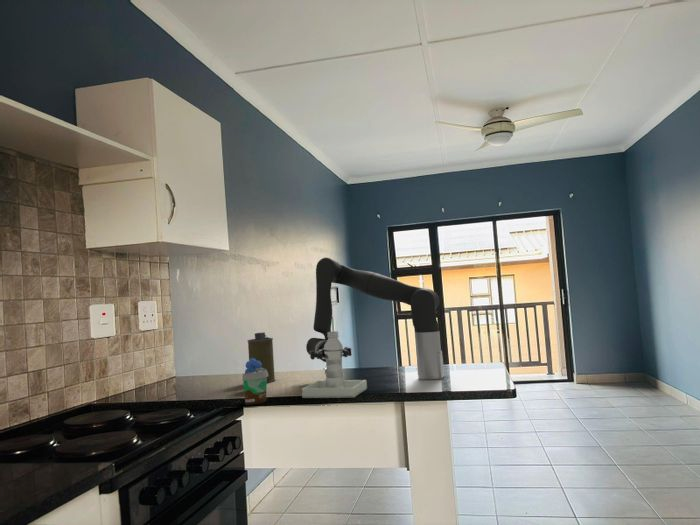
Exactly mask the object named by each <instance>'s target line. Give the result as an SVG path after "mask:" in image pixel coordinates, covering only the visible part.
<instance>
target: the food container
mask: <svg viewBox="0 0 700 525" xmlns="http://www.w3.org/2000/svg"><path fill="white" fill-rule="evenodd" d="M268 376H269V375H268V372H267V370H266V369H256V371H255V372H251V373H248V374H245V373H242V382H243V383H242V384H243V391H244V404H245V406H247V405H256V404H261V403H265V402H267V384H268V383H267V377H268Z"/></svg>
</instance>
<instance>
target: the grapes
mask: <svg viewBox="0 0 700 525" xmlns="http://www.w3.org/2000/svg"><path fill="white" fill-rule="evenodd" d="M261 366H262V364H261V362H260V361H258V360H257V361H256V360H255V359H254V358H251V359H250V361H249V360H248V361H247V362H246V363H245V367H246V368H245V371H244V374H248V373H251V372H255V371H256V369H264V368H262V367H261Z"/></svg>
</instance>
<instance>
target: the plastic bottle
mask: <svg viewBox="0 0 700 525" xmlns="http://www.w3.org/2000/svg"><path fill="white" fill-rule="evenodd" d="M327 338H328V340H327V342H326V343H325V345H324V353H325V358H326V362H325V363H326V364H325V365H326V374H325V376H326V377H325V381H326V382H325V385H326V388H344V386H345V381H344V380H345V378H344V371H343V357H342V354H343V349H344V347H343V344H342V343H341V341H340V339H339V332H338V331H331V332H328V336H327Z"/></svg>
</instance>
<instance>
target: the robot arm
mask: <svg viewBox="0 0 700 525" xmlns="http://www.w3.org/2000/svg"><path fill="white" fill-rule="evenodd" d="M315 267H316V268H315V281H316V283H315V284H316V285H315V286H316V287H315V288H316V289H315V290H316V291H315V293H316V296H315V298H316V299H315V309H314V310H315V311H314V320H313V330H314V331H315V332H316V333H320V334H322V335H323V336H324V338H320V337H319V338H318V337H311V338H309V339H308V341H307V343H306V345H305V346H306V349H305V350H306V352H307V354H308V355H309V358H310V359H311V360H313V361H314V360H315V358H316V360H321V361H322V362H324V363H326V358H325V353H324V345H325V343H326V342H327V340H328V338H327V336H328V332H332V320H333V304H332V303H333V302H332V291H331V290H332V284H338V285H343V286H347V287H350V288H352V289H354V290H356V291H358V292H359V293H363V294H365V295H368V296H371V297H374V298H377V299H381V300H385V301H392V302H398V303H403V304H406V305H408V306H410V313H411V320H412V326H413V328H414V339H415V352H416V365H417V366H416V367H417V375H418V376H417V377H418V379H419V380H439V379H440V380H441V379H443V378H444V377H445V372H444V371H445V370H444V359H443V357H444V356H443V351H442V347H441V333H440V324H439V322H438V320H437V313H436V310H437V309H438V308H439V306H440V298H439V295H438V294H437V292H435V291H434V290H432V289H429V288H424V287H419V286H415V285H414V286H413V285H410V284H408V283H407V284H406V283H404V282H401V281H399V280H397V279H394V278H392V277H389V276H386V275H383V274H381V273H378V272H373V271H369V270H368V271H367V270H360V269H354V268H352V267H349V266H346V265H344V264H342V263H340V262H339V261H337V260H335V259H333V258H331V257H323V258H320V260H318V262H317V264H316V266H315ZM352 355H353V354H352V348H351V347H347V346H344V347H343V353H342V358H343V357H344V358H348V357H352Z"/></svg>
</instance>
